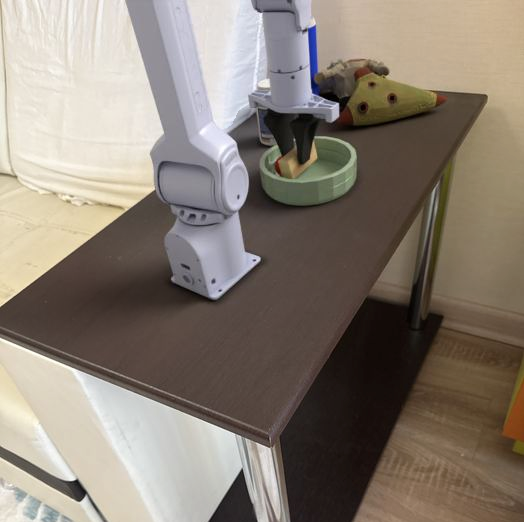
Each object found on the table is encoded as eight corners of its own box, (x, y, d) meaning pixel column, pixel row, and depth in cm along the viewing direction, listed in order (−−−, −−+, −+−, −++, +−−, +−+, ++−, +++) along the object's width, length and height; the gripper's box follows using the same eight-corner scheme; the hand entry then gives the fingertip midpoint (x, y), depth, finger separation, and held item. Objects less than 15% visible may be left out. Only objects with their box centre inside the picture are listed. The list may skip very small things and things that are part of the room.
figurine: (327, 130, 98) (321, 122, 111) (399, 89, 94) (383, 85, 108) (304, 81, 94) (300, 78, 107) (378, 35, 90) (365, 39, 104)
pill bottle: (294, 141, 93) (290, 83, 86) (266, 149, 92) (260, 91, 85) (282, 130, 96) (277, 74, 89) (255, 138, 95) (248, 82, 88)
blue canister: (288, 105, 104) (281, 19, 93) (311, 98, 105) (306, 12, 94) (300, 113, 100) (294, 25, 90) (324, 106, 102) (320, 18, 91)
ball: (290, 174, 81) (275, 162, 80) (283, 182, 84) (268, 170, 83) (299, 160, 82) (284, 148, 81) (292, 169, 85) (277, 157, 84)
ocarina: (443, 113, 96) (430, 59, 95) (455, 99, 90) (441, 42, 90) (337, 138, 95) (324, 84, 95) (342, 126, 90) (328, 69, 89)
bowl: (322, 216, 75) (321, 190, 72) (244, 193, 82) (240, 169, 79) (373, 170, 82) (374, 145, 79) (297, 153, 89) (295, 130, 86)
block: (293, 180, 80) (288, 161, 78) (282, 179, 81) (277, 161, 79) (317, 158, 83) (313, 139, 81) (307, 158, 84) (303, 139, 82)
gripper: (350, 60, 70) (350, 156, 79) (264, 50, 77) (274, 140, 86) (321, 80, 66) (325, 178, 76) (234, 67, 73) (248, 159, 83)
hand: (296, 159), depth 81 cm, fingers closed on block, 2 cm apart
